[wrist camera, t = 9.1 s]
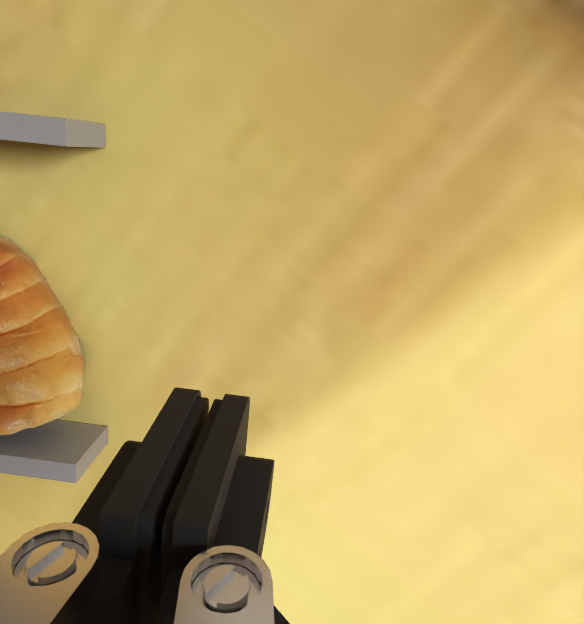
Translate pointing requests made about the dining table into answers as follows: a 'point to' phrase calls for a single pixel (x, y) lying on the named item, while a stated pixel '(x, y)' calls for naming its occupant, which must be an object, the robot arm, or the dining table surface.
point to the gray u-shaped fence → (55, 434)
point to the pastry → (34, 347)
